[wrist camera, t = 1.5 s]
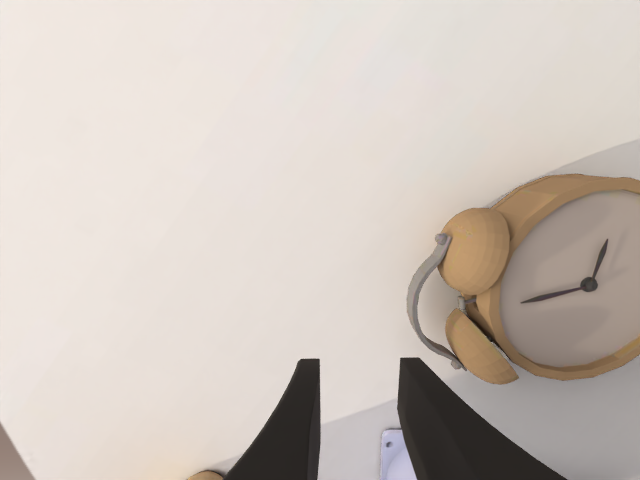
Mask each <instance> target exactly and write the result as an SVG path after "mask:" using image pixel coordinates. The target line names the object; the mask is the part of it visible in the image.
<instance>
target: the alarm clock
mask: <svg viewBox="0 0 640 480" xmlns="http://www.w3.org/2000/svg"><path fill="white" fill-rule="evenodd" d="M435 240H436V242H437V246H436V248H435V250H434V252H433V254H432V255H431V256H430V257H429V258H428V259H427V260H426V261H425V262H424V263H423V264H422V265H421V266H420V267H419V268H418V270H417V271H416V273H415V274H414V276H413V278H412V280H411V283H410V285H409V288H408V294H407V313H408V316H409V320H410V323H411V325H412V326H413V328H414V330H415V332H416V334H417V335H418V337H419V338H420V339H421V341H422V342H423V343H424V344H425V345H426V346H427V347H428V348H429V349H430V350H432V351H434V352H435V353H437V354H439V355H442V356H445V357H447V358H449V359H450V360H452V363H451V365H452V366H453V367H454V369H460V368H461V367H462V368H463V369H464V370H465V371H467V370H466V368H467V369H468V370H469V371H470V372H472V373H473V374H474V375H476V376H477V377H479V378H480V379H482V380H484V381H486V382H489V383H493V384H507V383H510V382H513V381H515V380H516V379H518V378H519V377H518V375H517V374H516V372H515V371H514V370H513V368H512V367H511V366H510V364H509V363H508V362H507V361H506V359H505V358H504V357H503V356H502V355H501V353H500V352H499V351H498V350H497V349H496V348H495V347H494V345H493V344H492V343H491V342H492V341H493V342H494V343H495V344H496V345H497V346H498V347H499V348H500V349H501V350H502V351H503V352H504V353H505V354H506V355H507V357H508V358H509V359H510V360H511V361H512V362H513V363H515V364H517V365H519V366H520V367H522V368H524V369H525V370H527V371H529V372H530V373H532V374H534V375H536V376H541V377H546V378H552V379H557V380H562V381H564V380H573V379H582V378H591V377H595V376H597V375H600V374H603V373H605V372H608V371H611V370H613V369H616V368H618V367H621V366H623V365H625V364H626V363H627V362H629V361H630V360H632V359H633V358H635V357H636V356H638V355H639V354H640V181H639V180H635V179H632V178H626V177H621V178H610V177H598V176H586V175H582V174H566V175H553V176H545V177H543V178H540V179H538V180H535V181H533V182H530V183H528V184H525V185H523V186H520V187H518V188H516V189H515V190H513V191H512V192H511V193H510V194H508V195H507V196H506V197H505V198H503V199H502V200H501V201H499V202H498V203H497V204H496V205H494V206H493V207H492V208H491V209H489V208H471V209H467V210H465V211H463V212H461V213H459V214H457V215H455V216H454V217H453V218H452V219H451V220H450V221H449V222H448V223H447V224H446V226H445V227H444V229H443V230H442V232H441V234H437V235H436V237H435ZM436 267H438V270H439V273H440V275H441V276H442V278H443V279H444V281H445V282H446V283H447V284H448V285H449V286H450V287H452V288H454V289H456V290H458V291H460V292H461V295H462V296H460V297H458V302H459V309H461V310H464V309H466V312H467V314H468V315H469V317H470V318H471V319H472V321H473V322H474V323H475V324H476V326H477V327H478V328H479V329H478V328H477V327H476V326H475V325H474V324H473V323H472V321H471V320H470V319H469V318H468V317H467V316H465V315H464V314H463V313H462V312H461V311H460V310H459V309H457V308H456V309H455V310H454V311H453V312H452V313H451V314H450V316H449V317H448V319H447V321H446V336H447V340H448V342H449V345H450V347H451V349H452V351H453V352H454V354H455V355H456V356H455V355H454V354H453V353H451V352H450V351H449V350H448V349H447V348H445V347H443V346H442V345H440V344H437V343H434V342H433V341H431V340H430V339H428V338H427V337H426V336H425V335H424V334H423V333H422V331H421V329H420V325H419V322H418V316H417V305H418V299H419V293H420V291H421V288H422V286H423V284H424V282H425V280H426V279H427V278H428V276H429V275H430V273H431V272H432V271H433V270H434V269H435V268H436ZM486 336H487V337H486ZM464 366H465V367H466V368H465V367H464Z"/></svg>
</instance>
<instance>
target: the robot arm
mask: <svg viewBox="0 0 640 480" xmlns="http://www.w3.org/2000/svg"><path fill="white" fill-rule="evenodd" d="M397 410H398V414H399V419H400V424H401V429H402V430H386V431H384V432H383V433H382V443H381V463H380V480H567V479H566V478H564V477H563V476H561V475H560V474H558V473H557V472H555V471H553V470H552V469H550V468H549V467H547V466H546V465H544V464H543V463H541V462H540V461H538V460H537V459H536V458H534V457H533V456H531V455H530V454H528V453H527V452H526V451H524V450H523V449H522V448H520V447H519V446H518V445H516V444H515V443H514V442H512V441H511V440H510V439H508V438H507V437H505V436H504V435H503V434H502V433H500V432H499V431H498V430H497V429H495V428H494V427H493V426H492V425H491V424H489V423H488V422H487V421H486V420H485V419H483V418H482V417H481V416H480V415H479V414H477V413H476V412H475V411H474V410H473V409H472V408H471V407H470V406H468V405H467V404H466V403H465V402H464V401H463V400H462V399H461V398H460V397H459V396H458V395H456V394H455V393H454V392H453V391H452V390H451V389H450V388H449V387H448V386H447V385H446V384H445V383H444V382H443V381H442V380H441V379H440V378H439V377H438V376H437V375H436V374H435V373H434V372H433V371H432V370H431V369H430V368H429V367H428V366H427V365H426V364H425V363H424V362H423V361H422V360H421V359H420V358H400V374H399V389H398V405H397ZM388 442H390V443H388ZM319 453H320V359H301V360H299V361H298V363H297V366H296V369H295V372H294V374H293V376H292V378H291V381H290V383H289V385H288V387H287V389H286V390H285V392H284V394H283V396H282V398H281V400H280V401H279V403H278V405H277V407H276V408H275V410H274V411H273V413H272V415H271V416H270V418H269V419H268V421H267V422H266V424H265V426H264V427H263V429H262V430H261V431H260V433H259V434H258V436H257V437H256V439H255V440H254V441H253V443H252V444H251V445H250V447H249V448H248V449H247V450H246V452H245V453H244V454H243V456H242V457H241V458H240V459H239V460H238V462H237V463H236V464H235V465H234V466H233V468H232V469H231V470H230V471H229V472H228V473H227V475H226V476H225V477H224V478H223V479H222V480H317V476H318V465H319Z"/></svg>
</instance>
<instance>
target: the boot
mask: <svg viewBox="0 0 640 480" xmlns="http://www.w3.org/2000/svg"><path fill="white" fill-rule="evenodd" d="M222 479H223V477H221V476H220V475H219V474H217V473H215V472H211V471H203V472H199V473H197V474H195V475H193V476H191V477H190V478H188V479H187V480H222Z"/></svg>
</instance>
